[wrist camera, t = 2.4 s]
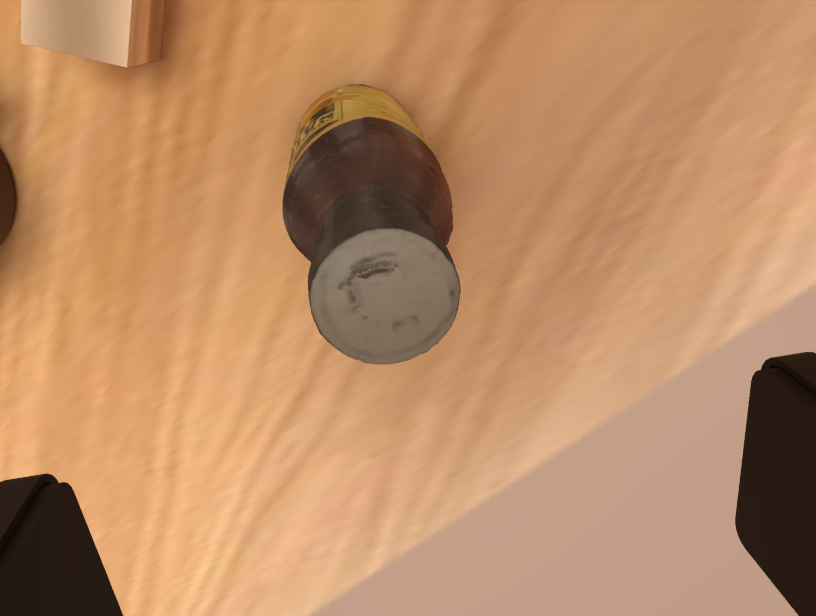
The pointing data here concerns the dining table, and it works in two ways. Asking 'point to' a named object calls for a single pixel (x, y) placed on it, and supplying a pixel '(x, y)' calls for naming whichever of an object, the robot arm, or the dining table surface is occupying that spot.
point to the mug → (5, 199)
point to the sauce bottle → (371, 227)
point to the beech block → (96, 28)
